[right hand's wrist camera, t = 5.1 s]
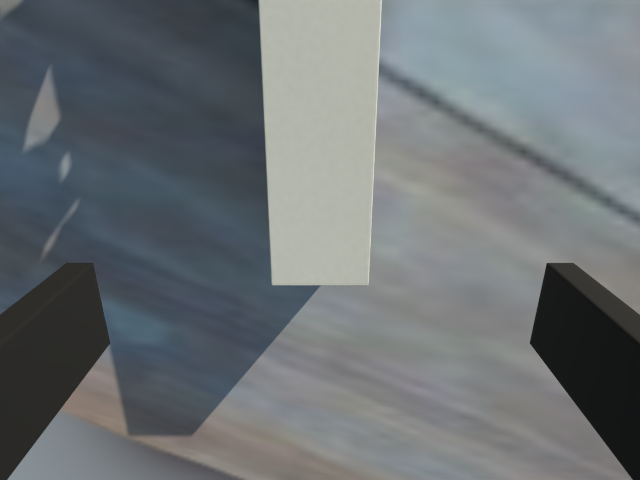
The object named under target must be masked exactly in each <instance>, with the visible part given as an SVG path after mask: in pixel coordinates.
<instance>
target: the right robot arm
mask: <svg viewBox="0 0 640 480" xmlns="http://www.w3.org/2000/svg"><path fill="white" fill-rule="evenodd" d="M109 344H110V340H109V335H108V331H107V326H106V321H105V317H104V312H103V307H102V303H101V298H100V293H99V289H98V284H97V279H96V275H95V270H94V265H93V263H66V264H65V265H63V266H62V267H61V268H60V269H58V270H57V271H56V272H55V273H53V274H52V275H51V276H49V277H48V278H47V279H46V280H44V281H43V282H42V283H40V284H39V285H38V286H37V287H35V288H34V289H33V290H31V291H30V292H29V293H28V294H26V295H25V296H24V297H22V298H21V299H20V300H19V301H17V302H16V303H15V304H14V305H12V306H11V307H10V308H8V309H7V310H6V311H5V312H3V313H2V314H1V315H0V480H7V479H8V478H9V476H10V475H11V474H12V472H13V471H14V470H15V469H16V467H17V466H18V464H19V463H20V462H21V461H22V459H23V458H24V457H25V455H26V454H27V453H28V451H29V450H30V449H31V447H32V446H33V445H34V443H35V442H36V441H37V439H38V438H39V437H40V435H41V434H42V433H43V431H44V430H45V429H46V427H47V426H48V425H49V423H50V422H51V421H52V420H53V418H54V417H55V416H56V414H57V413H58V412H59V410H60V409H61V408H62V406H63V405H64V404H65V402H66V401H67V400H68V398H69V397H70V396H71V394H72V393H73V392H74V390H75V389H76V388H77V386H78V385H79V384H80V382H81V381H82V380H83V378H84V377H85V376H86V374H87V373H88V372H89V371H90V369H91V368H92V367H93V365H94V364H95V363H96V361H97V360H98V359H99V357H100V356H101V355H102V353H103V352H104V351H105V349H106V348H107V347H108V345H109ZM530 344H531V345H532V347H533V348H534V349H535V351H536V352H537V353H538V355H539V356H540V357H541V359H542V360H543V361H544V363H545V364H546V365H547V367H548V368H549V369H550V371H551V372H552V373H553V374H554V376H555V377H556V378H557V380H558V381H559V382H560V384H561V385H562V386H563V388H564V389H565V390H566V392H567V393H568V394H569V396H570V397H571V398H572V400H573V401H574V402H575V404H576V405H577V406H578V408H579V409H580V410H581V412H582V413H583V414H584V416H585V417H586V418H587V420H588V421H589V422H590V423H591V425H592V426H593V427H594V429H595V430H596V431H597V433H598V434H599V435H600V437H601V438H602V439H603V441H604V442H605V443H606V445H607V446H608V447H609V449H610V450H611V451H612V453H613V454H614V455H615V457H616V458H617V459H618V461H619V462H620V463H621V465H622V466H623V467H624V469H625V470H626V471H627V472H628V474H629V475H630V476H631V478H632V479H633V480H640V315H639V314H638V313H637V312H635V311H634V310H633V309H632V308H630V307H629V306H628V305H626V304H625V303H624V302H623V301H621V300H620V299H619V298H618V297H616V296H615V295H614V294H612V293H611V292H610V291H609V290H607V289H606V288H605V287H603V286H602V285H601V284H600V283H598V282H597V281H596V280H594V279H593V278H592V277H591V276H589V275H588V274H587V273H585V272H584V271H583V270H582V269H580V268H579V267H578V266H577V265H575V264H574V263H547V265H546V270H545V274H544V279H543V284H542V289H541V293H540V298H539V303H538V307H537V312H536V317H535V321H534V326H533V331H532V335H531V340H530Z"/></svg>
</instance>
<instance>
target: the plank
mask: <svg viewBox="0 0 640 480" xmlns="http://www.w3.org/2000/svg"><path fill="white" fill-rule="evenodd" d="M258 2H259V24H260V45H261V67H262V89H263V110H264V132H265V153H266V175H267V196H268V218H269V240H270V261H271V283H272V285H368V284H369V263H370V241H371V220H372V198H373V177H374V155H375V134H376V112H377V91H378V69H379V48H380V27H381V5H382V0H258Z"/></svg>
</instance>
